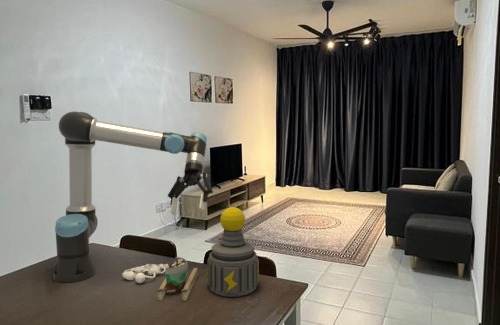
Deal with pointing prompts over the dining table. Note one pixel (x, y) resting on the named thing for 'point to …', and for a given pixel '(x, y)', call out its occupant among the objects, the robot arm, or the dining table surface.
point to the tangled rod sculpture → (138, 270)
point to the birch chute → (185, 291)
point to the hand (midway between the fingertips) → (187, 211)
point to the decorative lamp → (233, 259)
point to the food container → (176, 276)
